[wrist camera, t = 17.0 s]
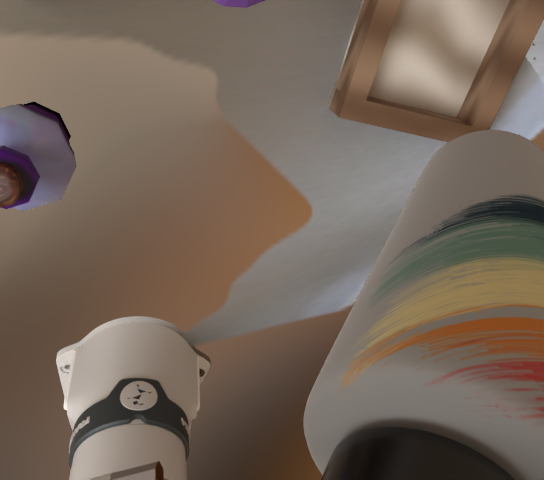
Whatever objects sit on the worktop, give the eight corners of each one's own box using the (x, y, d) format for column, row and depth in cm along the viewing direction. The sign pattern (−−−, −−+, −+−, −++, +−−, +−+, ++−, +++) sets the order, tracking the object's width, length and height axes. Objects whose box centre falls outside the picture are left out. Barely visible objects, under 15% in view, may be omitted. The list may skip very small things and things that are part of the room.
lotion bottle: (464, 261, 23) (329, 868, 8) (397, 171, 22) (101, 640, 7) (587, 207, 19) (797, 1148, 4) (511, 99, 19) (421, 735, 3)
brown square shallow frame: (460, 137, 50) (479, 149, 47) (327, 107, 45) (339, 117, 42) (537, -26, 43) (565, -25, 40) (388, -83, 38) (407, -87, 35)
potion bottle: (42, 194, 44) (7, 264, 34) (-41, 126, 40) (-110, 183, 30) (108, 139, 43) (91, 195, 33) (30, 62, 38) (-18, 99, 28)
